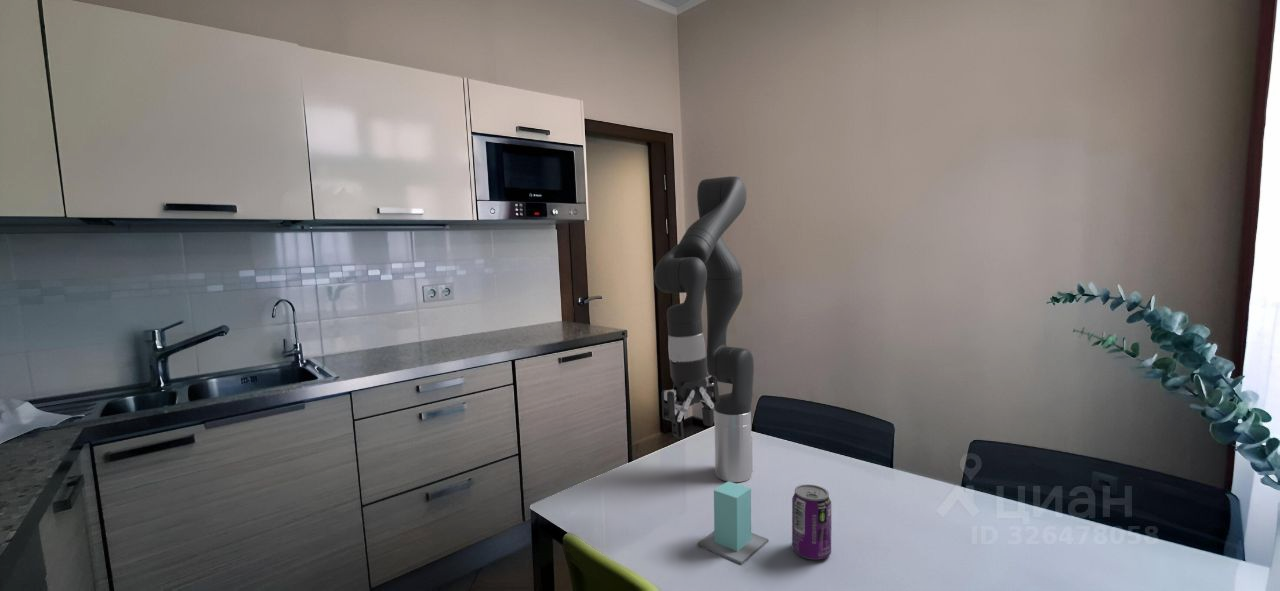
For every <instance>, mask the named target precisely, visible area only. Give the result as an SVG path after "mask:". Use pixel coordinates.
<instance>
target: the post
mask: <svg viewBox="0 0 1280 591" xmlns="http://www.w3.org/2000/svg"><path fill="white" fill-rule="evenodd" d="M768 543H769V538H767V537H764V536H761V535H758V534H756V533H753V532H751V541H750V542H748V543H747V544H746V545H745V546H744V547H742V548H741V549H740V550H739V551H738V552H737V551H735V550H732V549H730V548H728V547H725V546H723V545H720V544H718V543H716V542H715V539H714V531H712V532H710V533H709V534H708V535H707V536H705V537H704V538H702V539H701V540H700V541H698V542H697V546H699V547H700V548H704V549H705V550H707V551H710V552H712V553H714V554H717V555H719V556H721V557H722V558H723V557H724V558H726V559H728V560H730V561H732V562H734V563H737V564H740V565H743V564H744V563H746V562H747V561H748V560H749V559H750V558H751V557H752V556H754V555H755V554H756V553H757V552H759V550H761V549H762V548H763V547H764V546H765V545H767V544H768Z"/></svg>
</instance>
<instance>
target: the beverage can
mask: <svg viewBox="0 0 1280 591" xmlns="http://www.w3.org/2000/svg"><path fill="white" fill-rule="evenodd" d="M791 503H792V504H791V505H792V507H791V508H792V509H791V515H792V516H791V534H792V535H791V547H792V550H793V551H794V552H795V553H797V555H800V556H801V557H803V558H806V559H808V560H816V561H817V560H822V559H826V558H828V557H830V556H831V554H832V500H831V499H830V492H829V491H828V490H827V489H826V488H824V487H822V486H819V485H815V484H800V485H798V486H796V487H795V488H794V494H793V495H792V500H791Z"/></svg>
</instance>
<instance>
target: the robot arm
mask: <svg viewBox="0 0 1280 591" xmlns="http://www.w3.org/2000/svg"><path fill="white" fill-rule="evenodd" d="M696 197H697V198H696V199H697V200H696V201H697V210H698V216H699V218H698V219H696V221H694V222H693V223H692V224H691V225H690V226H689V227H688V228H687V229H686V230H685V232H684V234H683V236H682V238H681V240H680V241H679V243H678V244H676V245H675V246H674V247H673V248H671V249H670V250H669V251H668V252H667V253H665V255H663V256H662V257H661V258H660V260H658V262H657V264H656V265H655V269H654V272H653V280H654V284H655V286H656V288H657V289H658V290H659V291H661V292H663V293H665V294H685V297H684V301H683V302H680V303H677V304H674V305H671V306H669V307H668V308H667V310H666V322H667V334H668V335H667V336H668V342H667V344H668V345H667V347H668V359H669V371H670V372H669V373H670V378H671V380H672V382H673V387H672V389H667V390H666V389H663V390H661V392H660V393H661V412H662V413H661V414H662V419H663V420H666V421H670V422H671V430H672V435H673V437H674V438H675V439H679V440H682V439H684V438H685V433H684V431H685V430H684V422H683V420H682V419H683V417H684V415H685V413H686V412H688V410H689V407H691V406H693V405H695V404H699V403H700V404H701V411H702V423H703V425H704V426H706V427H713V425H714V470H715V471H714V474H715V476H716V478H717V479H719V480H722V481H725V482H728V481H729V482H732V483H741V482H742V483H743V482H747V481H748V480H750V479H751V478H752V473H753V471H754V470H753V469H754V468H753V436H752V402H753V401H752V400H753V394H754V392H753V389H754V388H753V387H754V369H755V367H754V366H755V365H754V363H755V362H754V361H755V360H754V357H753V354H752V352H751V351H750V350H749V349H748V348H742V347H736V346H735V347H734V346H727V331H728V327H729V324H730V321H731V320H732V317H733V316H734V314H735V312H736V310H737V309H738V307H739V305H740V303H741V301H742V298H743V271H742V267H741V264H740V263H739V261H738V260H737V258H736V257H735V255H734V254H733V252H732V251H731V249H730V248H729V247H728V245H727V244H726V242H725V240H724V238H723V237H722V236H723V234H725V232H726V231H727V230H728V228H730V227H731V225H732V224H733V223H734V221H735V220H736V219H737V218H738V217H739V216H740V215H741V213H742V212H743V211H744V208H745V206H746V203H747V188H746V185H745V182H744V181H743V179H742V178H740V176H739V177H738V176H721V177H715V178H713V177H711V178H705V179H702V180H701V181H700V182H699V183H698V186H697V194H696ZM704 295H705V301H706V320H707V322H706V323H707V328H706V330H707V331H706V335H707V337H706V338H707V339H706V342H705V338H704V333H703V332H704V331H703V330H704V329H703V320H702V319H703V318H702V310H703V309H702V308H703V302H704ZM718 383H723V384H730V385H732V387H731V392H729V393H723V394H721V395H720V394H719V393H720V392H719V385H718ZM681 404H682V405H681ZM713 409H714V410H713Z"/></svg>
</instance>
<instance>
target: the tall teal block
mask: <svg viewBox="0 0 1280 591" xmlns="http://www.w3.org/2000/svg"><path fill="white" fill-rule="evenodd" d="M713 515H714V516H713V522H714V523H713V525H714V539H715V542H716V543H718V544H720V545H723V546H725V547H728V548H730V549H732V550H735V551H737V552H738V551H739V550H740V549H741V548H742V547H744V546H745V545H746V544H747V543H748V542H750V541H751V533H752V488H751V487H748V486H744V485H741V484H738V483H737V482H729V481H725V483H723V484H722V485H720V486H718V487H717V488H715V489H714V490H713Z"/></svg>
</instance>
